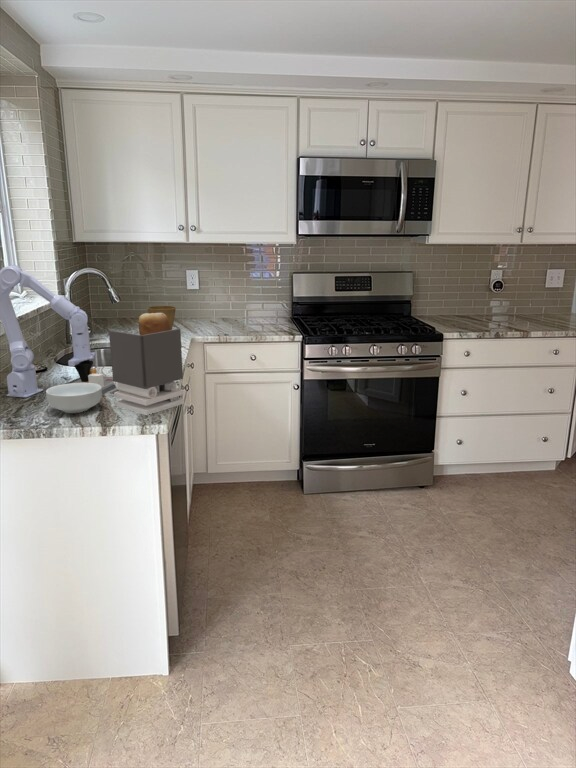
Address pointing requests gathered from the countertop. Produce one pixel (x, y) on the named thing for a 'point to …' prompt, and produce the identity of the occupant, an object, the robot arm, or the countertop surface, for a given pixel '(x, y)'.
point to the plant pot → (164, 312)
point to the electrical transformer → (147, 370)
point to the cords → (79, 379)
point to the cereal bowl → (74, 396)
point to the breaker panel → (100, 382)
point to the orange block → (92, 371)
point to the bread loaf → (153, 323)
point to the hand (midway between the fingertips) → (84, 381)
